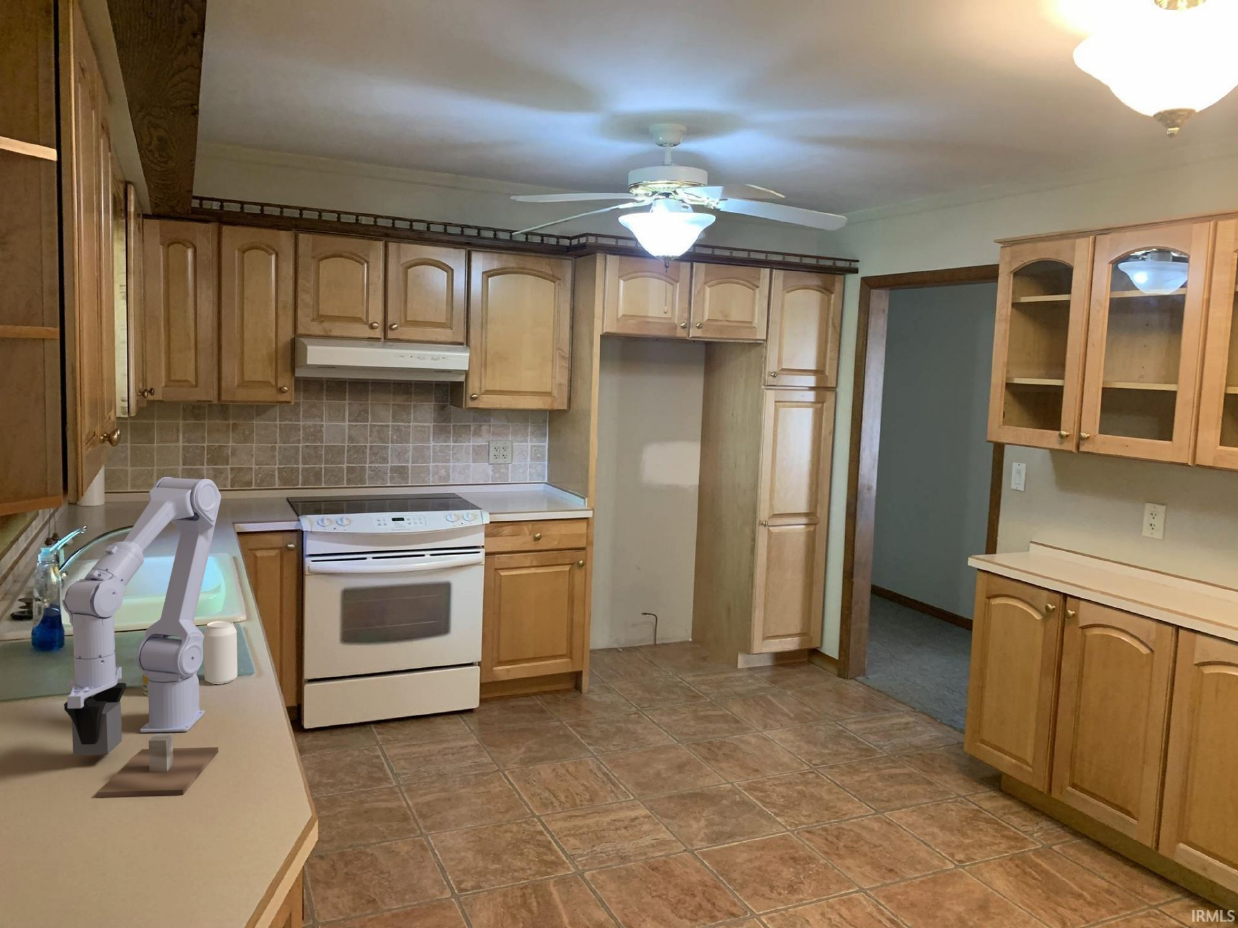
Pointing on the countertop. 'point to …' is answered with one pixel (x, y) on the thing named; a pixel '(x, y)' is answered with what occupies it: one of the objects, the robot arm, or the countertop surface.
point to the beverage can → (220, 652)
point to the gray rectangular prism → (102, 732)
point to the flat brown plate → (159, 770)
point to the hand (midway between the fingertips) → (97, 736)
